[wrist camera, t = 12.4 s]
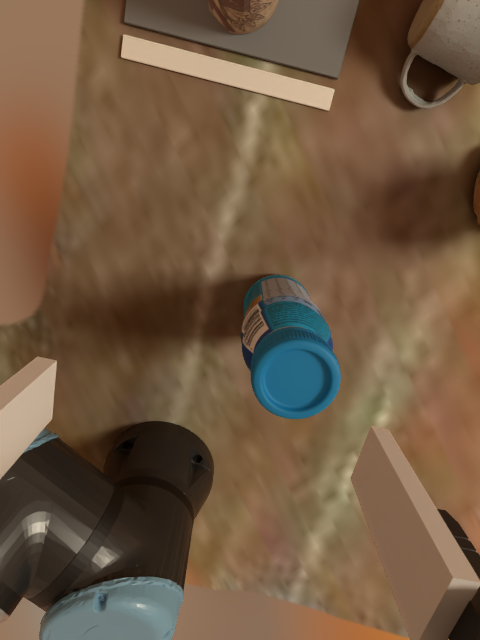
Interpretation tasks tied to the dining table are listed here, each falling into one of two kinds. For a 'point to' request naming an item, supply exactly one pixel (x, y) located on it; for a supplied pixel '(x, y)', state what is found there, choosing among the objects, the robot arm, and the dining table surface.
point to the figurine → (242, 14)
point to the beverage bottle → (288, 349)
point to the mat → (260, 30)
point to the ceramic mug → (445, 44)
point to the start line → (226, 73)
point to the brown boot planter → (477, 198)
